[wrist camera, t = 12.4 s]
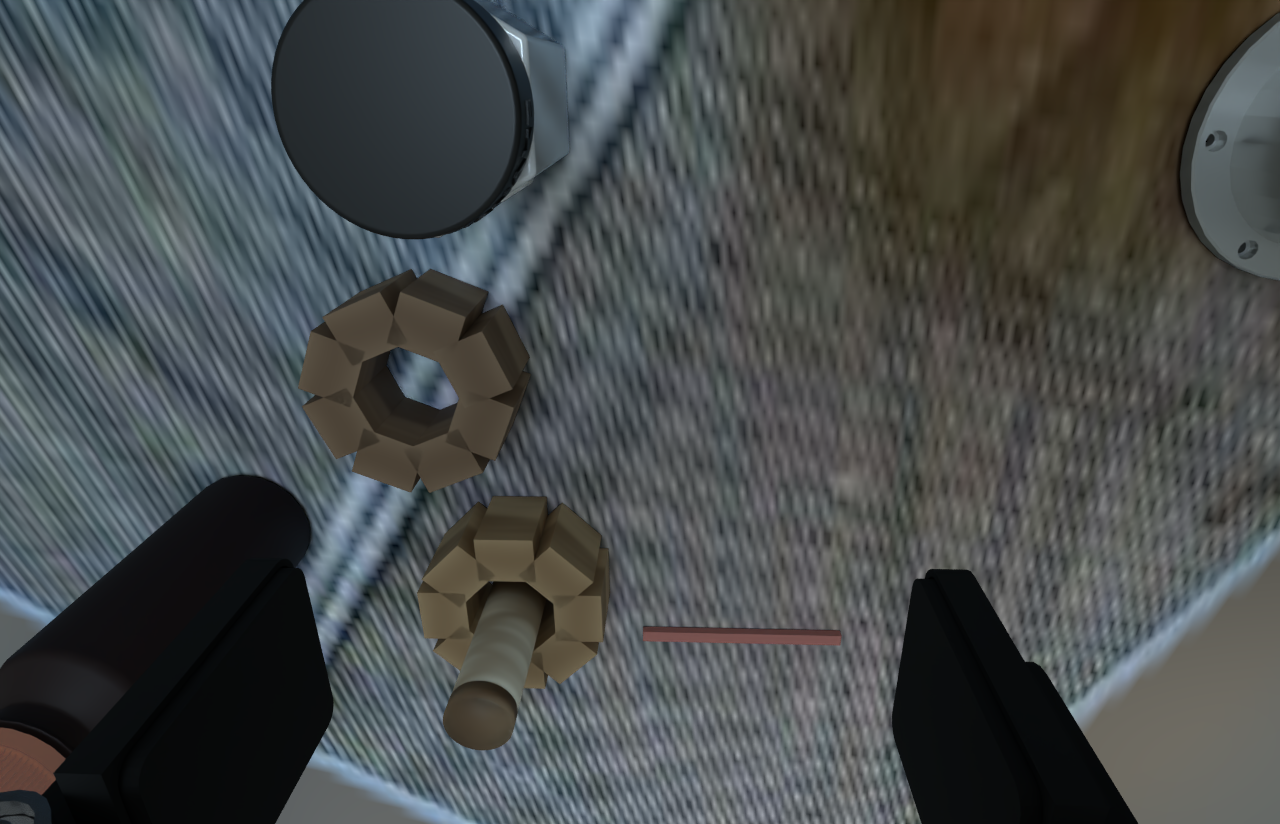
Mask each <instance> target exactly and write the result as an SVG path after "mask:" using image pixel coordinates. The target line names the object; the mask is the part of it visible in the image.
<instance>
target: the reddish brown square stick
mask: <svg viewBox="0 0 1280 824" xmlns="http://www.w3.org/2000/svg"><path fill="white" fill-rule="evenodd" d="M643 641H663V642H709V643H756V644H802V645H840V644H841V633H840V631H833V630H784V629H735V628H687V627H643Z"/></svg>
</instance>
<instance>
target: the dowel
mask: <svg viewBox="0 0 1280 824" xmlns="http://www.w3.org/2000/svg"><path fill="white" fill-rule="evenodd" d="M546 600H547V598H545V597H544V596H543V595H542V594H540V593H539V592H538V591H537V590H535V589H534V588H533V587H532V586H530V585H529V584H528V583H526V582H509V581H494V582H493V585H492V587H491V590H490V593H489V595H488V598H487V601H486V603H485V606H484V609H483V611H482V614H481V617H480V620H479V622H478V625H477V628H476V630H475V633H474V636H473V638H472V641H471V644H470V646H469V649H468V652H467V654H466V657H465V660H464V662H463V665H462V668H461V671H460V673H459V676H458V679H457V681H456V684H455V687H454V689H453V692H452V694H451V696H450V699H449V701H448V704H447V707H446V709H445V712H444V715H443V725H444V728H445V730H446V732H447V733H448V735H449V736H450V737H451V738H452V739H453V740H454V741H456V742H457V743H459V744H460V745H462V746H465V747H467V748H470V749H475V750H491V749H495V748H498V747H500V746H502V745H503V744H505V743H506V742H507V741H508V740H509V739H510V737H511V735H512V733H513V729H514V725H515V721H516V718H517V713H518V708H519V704H520V700H521V696H522V693H523V689H524V685H525V681H526V677H527V673H528V669H529V666H530V662H531V658H532V654H533V650H534V646H535V642H536V638H537V635H538V631H539V627H540V623H541V619H542V615H543V611H544V607H545V604H546Z"/></svg>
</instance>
